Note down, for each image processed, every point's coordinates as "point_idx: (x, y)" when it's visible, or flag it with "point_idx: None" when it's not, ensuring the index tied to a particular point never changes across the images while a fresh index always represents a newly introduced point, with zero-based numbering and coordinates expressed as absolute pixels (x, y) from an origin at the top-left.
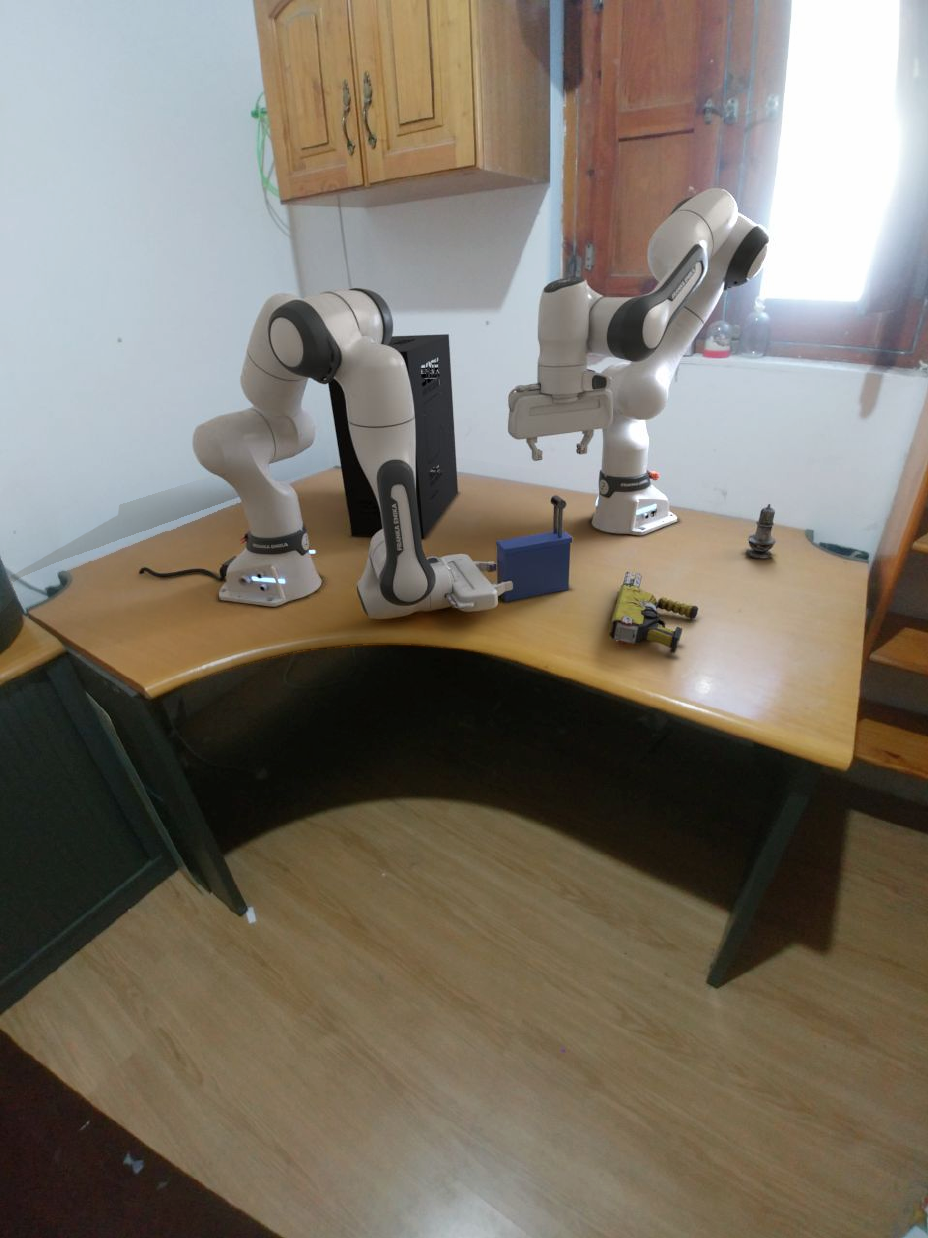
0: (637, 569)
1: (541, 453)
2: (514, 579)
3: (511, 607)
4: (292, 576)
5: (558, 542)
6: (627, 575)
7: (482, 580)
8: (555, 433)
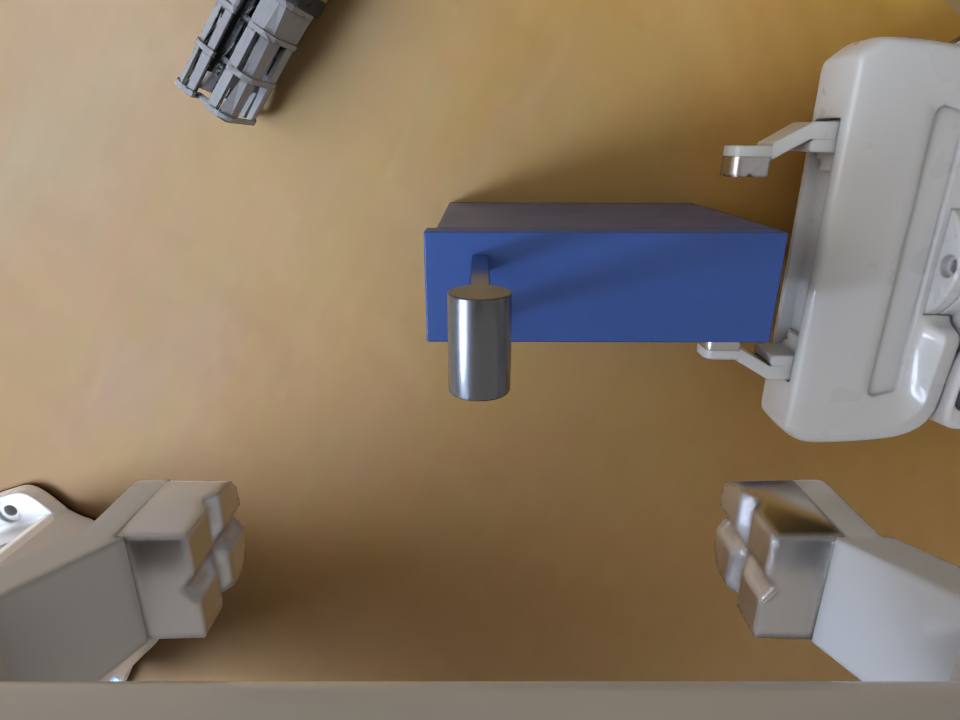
0: (147, 250)
1: (776, 517)
2: (684, 212)
3: (692, 157)
4: None
5: (501, 229)
6: (232, 100)
7: (865, 173)
8: (706, 686)
